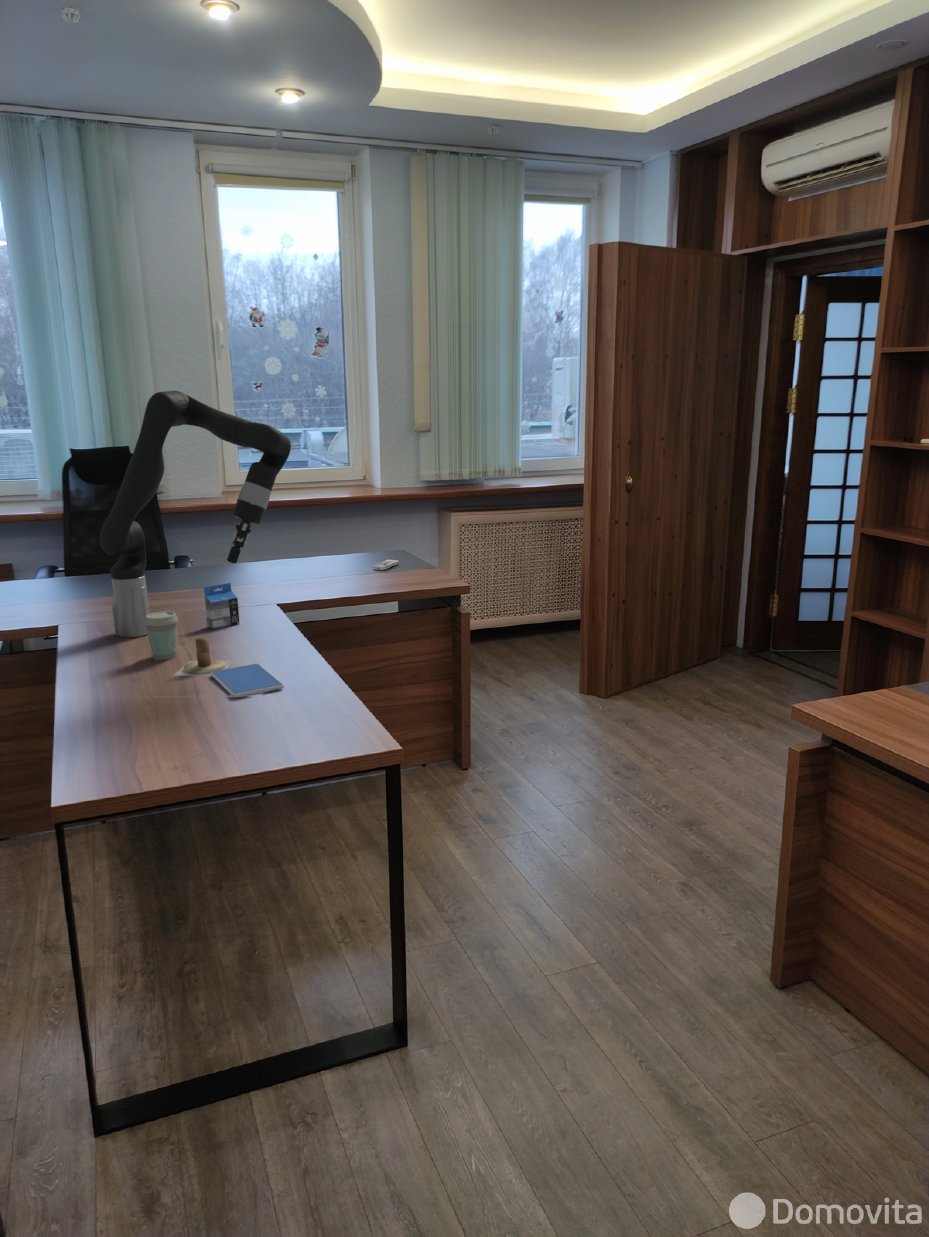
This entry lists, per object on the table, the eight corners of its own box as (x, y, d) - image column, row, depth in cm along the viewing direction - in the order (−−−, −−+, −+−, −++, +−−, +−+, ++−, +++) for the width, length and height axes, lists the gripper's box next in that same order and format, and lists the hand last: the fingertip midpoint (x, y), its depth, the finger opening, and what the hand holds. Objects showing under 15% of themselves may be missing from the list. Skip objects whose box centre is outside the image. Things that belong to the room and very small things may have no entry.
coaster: (173, 677, 220) (173, 675, 220) (189, 662, 231) (189, 660, 231) (220, 676, 219) (220, 675, 219) (234, 662, 231) (234, 660, 231)
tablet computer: (209, 675, 219) (209, 670, 218) (258, 666, 225) (258, 661, 225) (233, 700, 203) (233, 695, 203) (285, 689, 209) (285, 684, 209)
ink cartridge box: (212, 629, 262) (208, 589, 259) (207, 627, 265) (203, 587, 261) (240, 624, 267) (236, 584, 264) (234, 621, 270) (230, 582, 267)
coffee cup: (171, 663, 231) (166, 619, 227) (142, 662, 232) (136, 618, 229) (188, 653, 239) (183, 611, 236) (159, 652, 240) (154, 610, 237)
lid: (178, 674, 221) (175, 644, 218) (192, 662, 230) (189, 633, 228) (217, 674, 220) (215, 644, 218) (229, 661, 230) (227, 633, 228)
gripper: (236, 499, 232) (216, 557, 231) (239, 495, 218) (217, 557, 218) (264, 509, 234) (244, 567, 234) (268, 506, 221) (246, 567, 220)
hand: (231, 562), depth 226 cm, fingers open, 8 cm apart
